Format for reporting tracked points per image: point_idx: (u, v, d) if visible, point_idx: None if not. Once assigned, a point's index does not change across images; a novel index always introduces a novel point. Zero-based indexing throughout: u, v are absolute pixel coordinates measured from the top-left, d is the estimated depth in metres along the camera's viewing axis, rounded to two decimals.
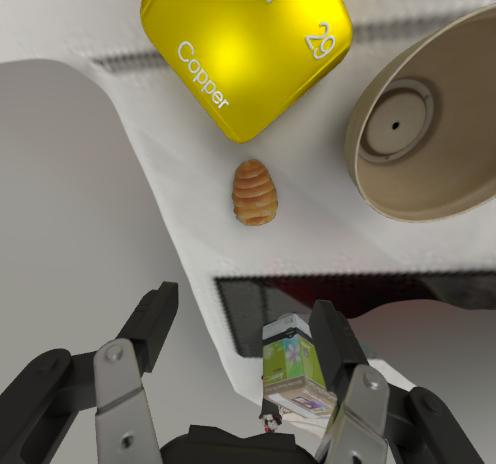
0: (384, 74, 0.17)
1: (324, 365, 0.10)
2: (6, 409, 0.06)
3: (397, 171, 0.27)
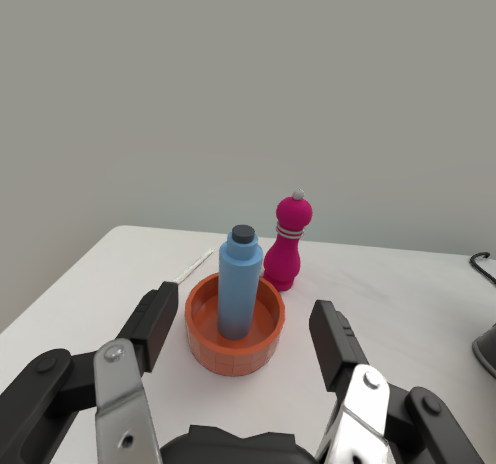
0: None
1: (324, 365, 0.10)
2: (6, 409, 0.06)
3: None
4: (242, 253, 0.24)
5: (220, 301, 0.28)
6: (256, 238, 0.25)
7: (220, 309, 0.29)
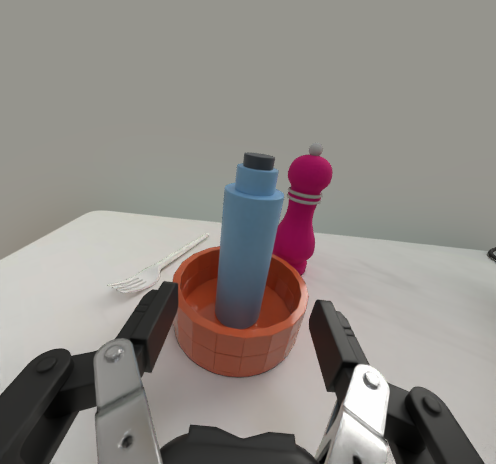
0: None
1: (324, 365, 0.10)
2: (6, 409, 0.06)
3: None
4: (258, 183, 0.17)
5: (223, 267, 0.21)
6: (275, 169, 0.18)
7: (221, 281, 0.21)
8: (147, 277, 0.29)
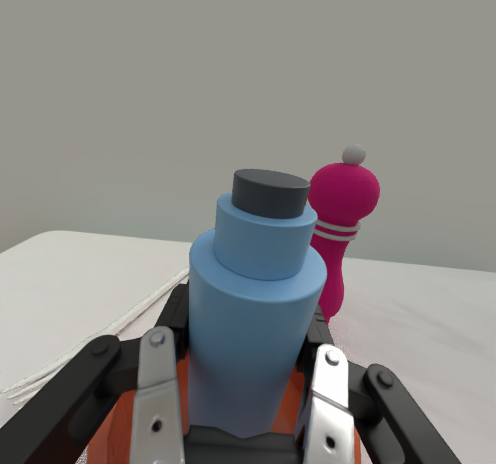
0: None
1: None
2: (64, 382, 0.06)
3: None
4: (271, 254, 0.06)
5: (193, 399, 0.10)
6: (308, 208, 0.08)
7: (193, 417, 0.11)
8: None
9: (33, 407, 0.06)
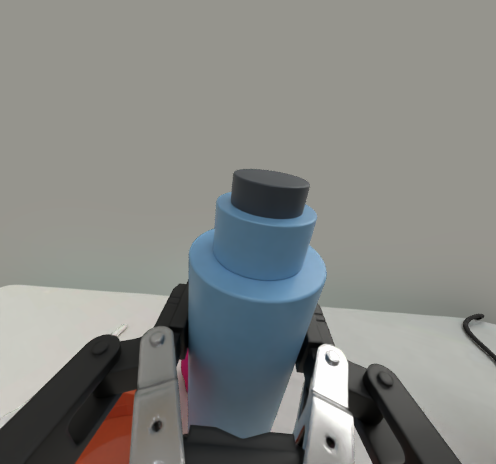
0: None
1: None
2: (65, 382, 0.06)
3: None
4: (270, 254, 0.06)
5: (193, 399, 0.10)
6: (308, 209, 0.08)
7: (192, 417, 0.11)
8: None
9: (33, 407, 0.06)
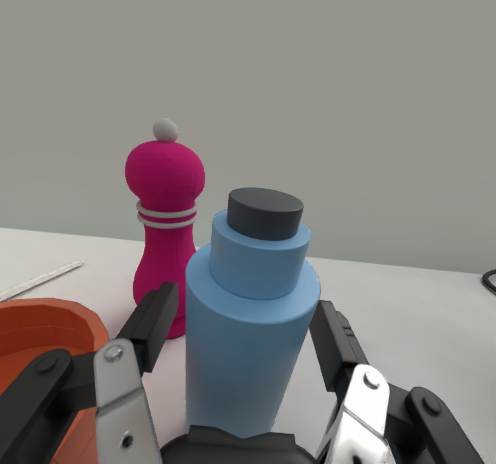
0: None
1: (324, 365, 0.10)
2: (6, 409, 0.06)
3: None
4: (265, 275, 0.07)
5: (190, 411, 0.10)
6: (302, 227, 0.08)
7: None
8: None
9: None
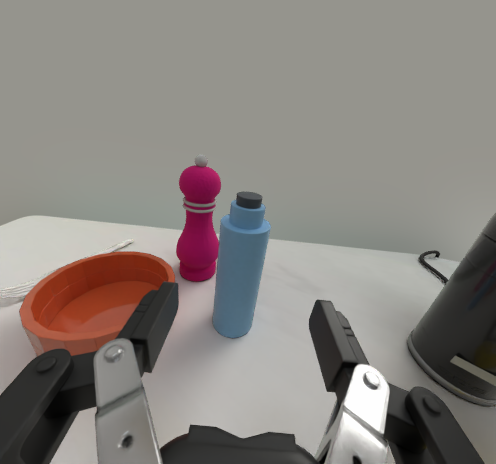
0: None
1: (324, 365, 0.10)
2: (6, 409, 0.06)
3: None
4: (248, 220, 0.20)
5: (219, 285, 0.24)
6: (263, 206, 0.22)
7: (218, 297, 0.25)
8: None
9: None
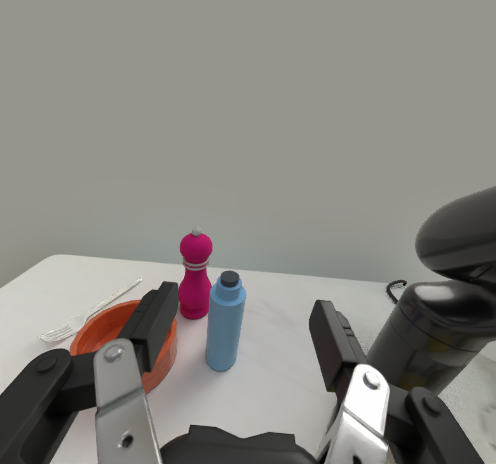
0: None
1: (324, 365, 0.10)
2: (6, 409, 0.06)
3: None
4: (228, 295, 0.29)
5: (209, 335, 0.33)
6: (240, 282, 0.30)
7: (209, 342, 0.34)
8: (74, 325, 0.39)
9: None
